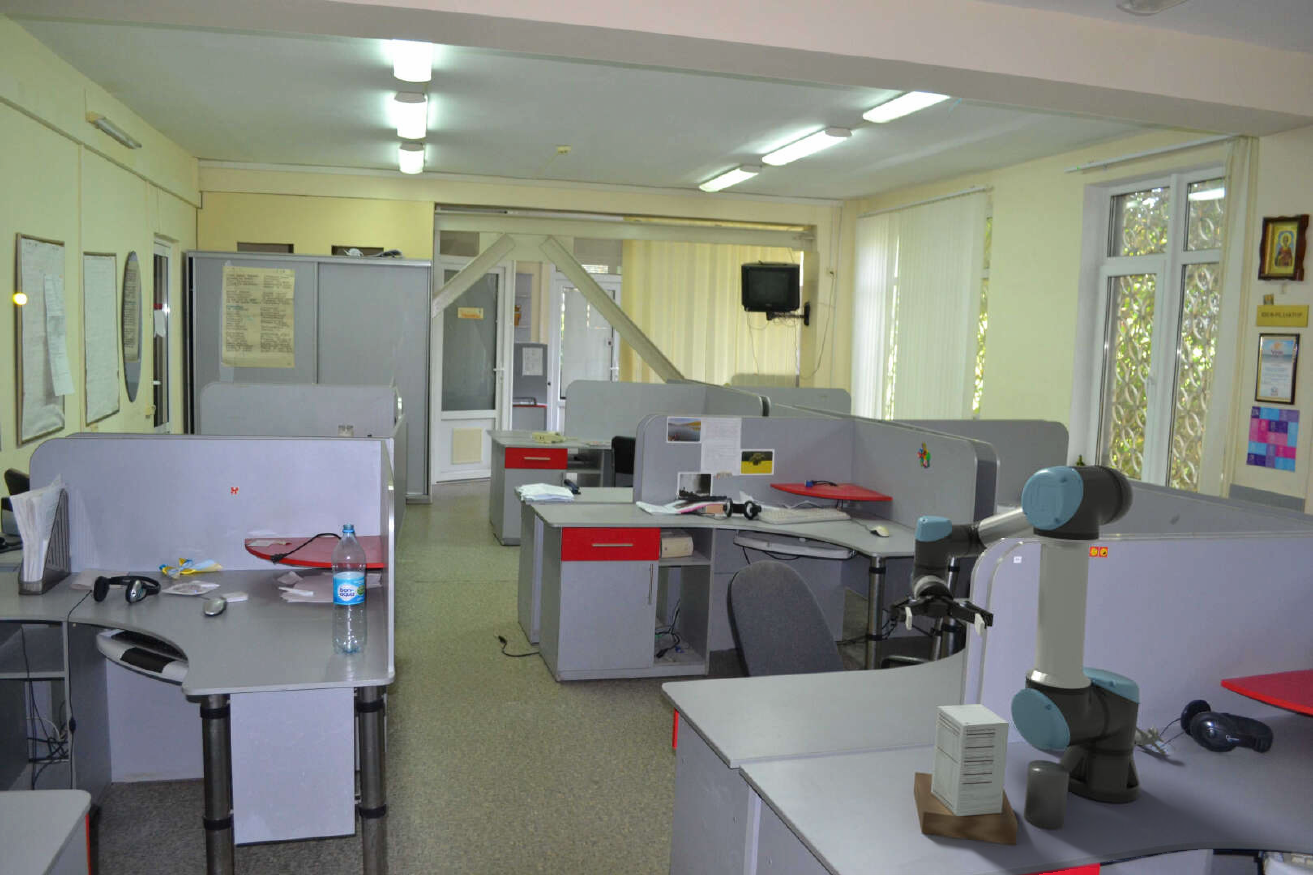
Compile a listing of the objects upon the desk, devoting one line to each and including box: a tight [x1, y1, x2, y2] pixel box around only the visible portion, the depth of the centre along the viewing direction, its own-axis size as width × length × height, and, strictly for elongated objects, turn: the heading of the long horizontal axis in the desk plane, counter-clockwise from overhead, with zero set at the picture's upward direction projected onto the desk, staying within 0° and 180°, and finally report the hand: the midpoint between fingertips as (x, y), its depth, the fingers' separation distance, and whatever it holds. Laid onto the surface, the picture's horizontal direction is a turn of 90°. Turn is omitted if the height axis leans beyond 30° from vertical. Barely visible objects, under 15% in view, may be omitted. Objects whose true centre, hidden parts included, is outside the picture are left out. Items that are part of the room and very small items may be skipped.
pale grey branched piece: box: [1134, 725, 1167, 756], centre depth 215 cm, size 10×6×9 cm
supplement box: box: [931, 703, 1010, 816], centre depth 176 cm, size 10×9×17 cm
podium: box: [913, 771, 1019, 846], centre depth 180 cm, size 16×16×4 cm
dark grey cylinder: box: [1023, 759, 1069, 831], centre depth 180 cm, size 7×7×10 cm
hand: (945, 626), depth 190 cm, fingers open, 13 cm apart
